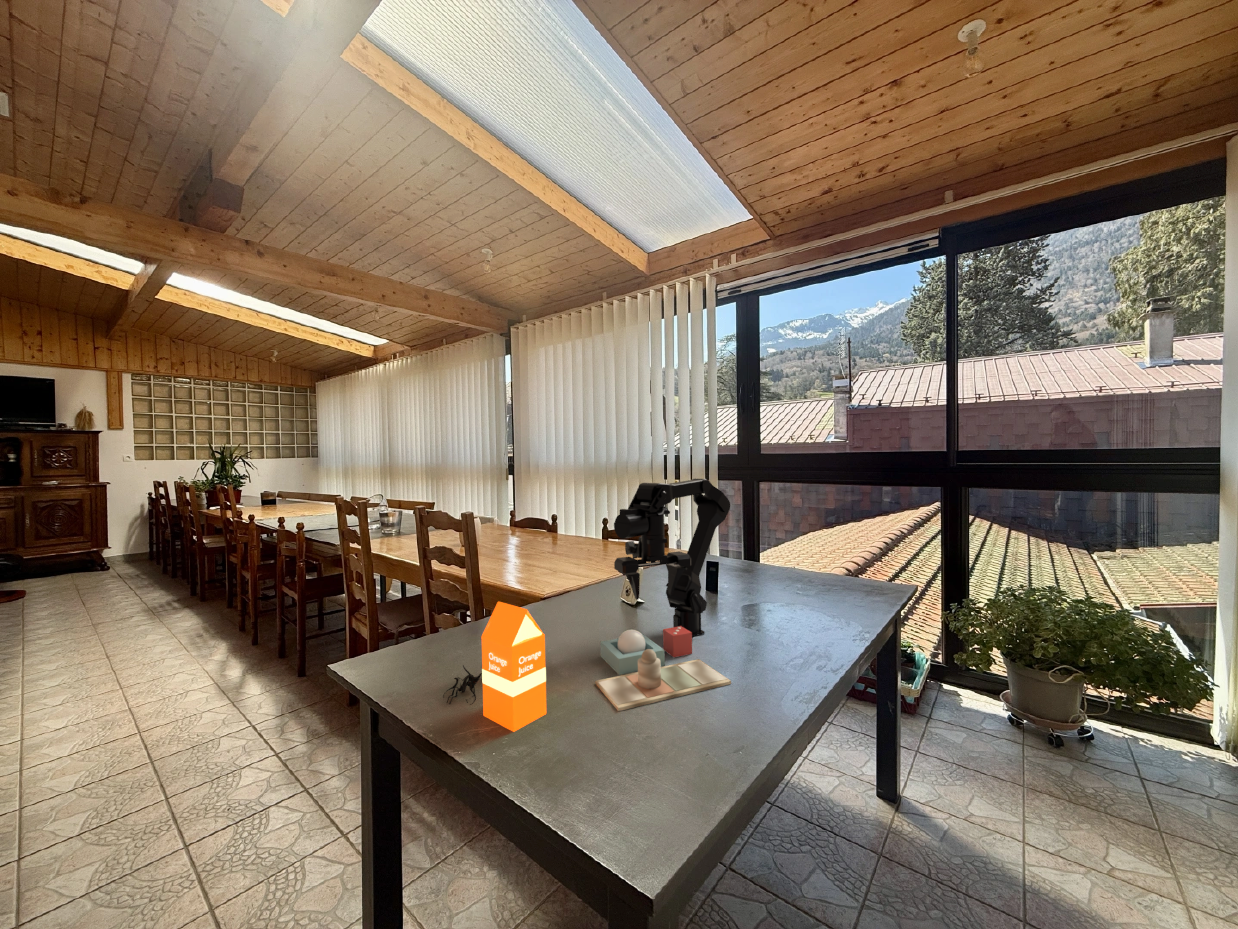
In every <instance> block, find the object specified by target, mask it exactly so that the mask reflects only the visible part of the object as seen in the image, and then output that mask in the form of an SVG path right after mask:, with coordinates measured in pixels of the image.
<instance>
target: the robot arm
mask: <svg viewBox="0 0 1238 929" xmlns="http://www.w3.org/2000/svg"><path fill="white" fill-rule="evenodd" d="M690 496H692V499H693V502H694V503H695V505H696V506H697V509H696V514H697V518H698V521H697V522H698V523H697V524H696V527H695V530H694V533H693V536H692V538H691V542H690V545H689V546H688V549H687V552H683V551H670V552H667V554H665V553H666V552H665V547H666V545H665V544H667V543H668V538H666V537H665V515H670V514H671V511H670V510H669V509H668V508H667V507H666V505H668V504H670V503H672V501H673V500H676V499H681V498H685V497H690ZM730 509H731V502H730V500H729V498H728V497H727V496H726V495H725V493H724V492H723V491H722V490H720V489H719V488H717V487H716V486H715V485H713V484H712V483H711V481H710V480H709V479H707V478H693V479H690V480H688V479H687V480H683V481H677V482H676V481H675V482H671V483H661V482H641V483H640V484H638V488H637V489H636V491H635V494H634V496H633V497H632V499H631V501H630V504H629V505H628V508H619V514H618V515H617V516H616V517H615V520H614V522H613V529H614V532H615V534H616V536H617V537H618V538H619V539H622V540H623V539H630V538H636V537H638V543H635V542H634V540H631V541H626V542H625V543H624V544H625V545H624V547H625V548H624V549H625V550H624V551H625V554H626V555H627V556H623V557H617V558H616V559H615V560H614V562H613V564H614V567H613V569H614V570H615V571H617V572H619V573H621V574H622V575H624V576H625V577H626V578H627V580H628V582H629V585H630V588H631V591H632V593H633V596H634V598H635V600H639V599H640V584H641V583H640V581H641V580H640V579H641V578H640V576H641V573H639V572H638V570H639V569H640V568H646V567H654V566H662V565H663V566H666V570H667V583H666V585H665V586H666V591H665V595H666V597H667V601H668V604H669V608H672V609H674V614H673V616H672V617H673V619H672V624H673V626H672V628H673V627H678V626H682V627H683V628H685V629H687V630H688V631H690V632H692V637H694V636H700V635H704V634H705V633H706V632H705V630H703V629H702V614H704V612H705V611H706V609H707V606H708V602H707V601H706V599H705V598H704V597H703V596H702V594H701V591H702V585H701V584H702V583H701V580H700V574H701V571H702V569H703V565H704V562H705V559H706V557H707V554H708V551H709V549H710V546H711V543H712V540H713V537H714V534H715V532H716V530H717V527H718V526H719V525H720V524H721V525H722V523H723V522H724V521H725V520H726V519H727V515H728V514H729V512H730ZM629 555H632V557H631V556H629Z"/></svg>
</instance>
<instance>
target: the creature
mask: <svg viewBox="0 0 1238 929" xmlns="http://www.w3.org/2000/svg"><path fill="white" fill-rule="evenodd" d="M462 667H463V670H464V671H465V672H466V673H467V675H466V676H465V677H464V678H463V679H462V678H461V677H459V676H457V677H454V678H453V679H454V680H455V683H454V685H453V686H452V687H450V688H448V689H447V690H446V691H445V692H444V693H443V695H442V698H445V694H446V693H447V692H448V691H451V690H452V691H451V694H450V695H448V698H447V700H446V704H448V702H449V700H450V699H451V700H450V702H449V704H451V703H452V700H453V699H454V698H457V697H458V694H459V693H461V694H463V693H465V692H466V691H467V687H468V688H469V691H470V692H471V694H473V695H472V696H471V698H473V697H474V699H473V702H471V703H470V704H469V706H472V705H473V704H475V701H476V700H477V696H476V691H475V686H476V684H477V683H478V682H479V680H480V678H481V677H482V672H480V673H479V675H478V676H474V674H471V672H470V671H469V670H468V669H467V668H466V667H465V665H462ZM461 681H462V684H461ZM458 683H459V684H460V686H457V685H458ZM455 691H456V692H455ZM454 694H455V695H454ZM471 698H469V699H468V698H467V699H465V701H466V703H467V704H468V703H469V702H468V700H470V699H471Z"/></svg>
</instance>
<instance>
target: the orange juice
mask: <svg viewBox="0 0 1238 929" xmlns="http://www.w3.org/2000/svg"><path fill="white" fill-rule="evenodd" d="M480 638H481V664H482V667H481V673H482V675H481V679H482V680H481V681H482V707H483V709H482V711H483V712H482V714H483V717H485V718H487V719H489V720H491V721H492V722H495V723H496V724H498V725H500V726H501V727H503V728H505V729H507V730H509V731H511V732H513V733H515V732H516V731H518V730H520V729H521V728H524V727H525V726H527V725H529V724H531V723H533V722H534V721H536V720H538V719H540V718H541V717H543V716H545V715H546V714H547V667H546V634H545V633H544V632H543V631H542V629H541V628H540V626H539V625H538V624H537V622H536V621H535V618H533V617H532V615H531V613H530V612H529V610H528V609H527V608H524V607H520V606H516V605H513V604H510V603H506V602H502V601H497V602H496V605H495V607H494V609H493V611H492V613H491V615H490V618H489V619H488V622H487V624H486V626H485V628H484V630H483V632H482V635H481V637H480Z"/></svg>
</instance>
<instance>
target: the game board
mask: <svg viewBox="0 0 1238 929" xmlns="http://www.w3.org/2000/svg"><path fill="white" fill-rule="evenodd" d="M594 683H595V685H596V686H597V687H598V689H599V690H600V691H601V693H603V695H604V696H605V697H606V698H607V700H608V701H609V702H610V703H611V705H612V706H614V708H615V709H616V710H617V712H620V711H624V710H628V709H629V710H630V709H632V708H638V707H642V706H646V705H649V704H653V703H659V702H662V701H665V700H671V699H674V698H678V697H682V696H686V695H691V694H695V693H699V692H704V691H707V690H712V689H717V688H719V687H724V686H728V685H731V684H732V680H731V679H729V678H728V677H726V676H725V675H723V674H721V673H720V672H719V671H717V670H716V669H714V668H713V667H711V666H710V665H708V664H707V663H706V662H703V661H702V660H701V659H700V658H698V659H691V660H689V661H683V662H678V663H673V664H670V665H665V666H661V685H660V686H659V687H658V688H655V689H645V688H642V687H640V686H639V685H638V671H637V672H632V673H628V674H623V675H617V676H613V677H612V676H611V677H608V678H603V679H602V678H601V679H598V680H595V681H594Z"/></svg>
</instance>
